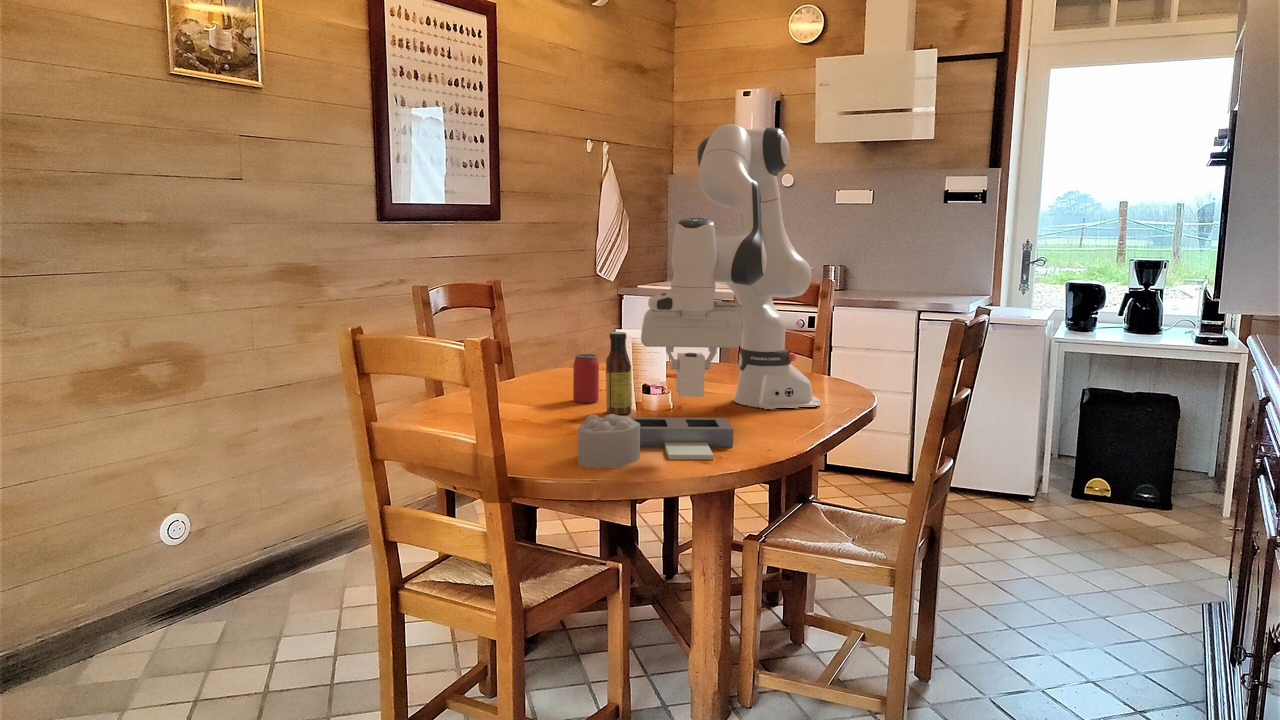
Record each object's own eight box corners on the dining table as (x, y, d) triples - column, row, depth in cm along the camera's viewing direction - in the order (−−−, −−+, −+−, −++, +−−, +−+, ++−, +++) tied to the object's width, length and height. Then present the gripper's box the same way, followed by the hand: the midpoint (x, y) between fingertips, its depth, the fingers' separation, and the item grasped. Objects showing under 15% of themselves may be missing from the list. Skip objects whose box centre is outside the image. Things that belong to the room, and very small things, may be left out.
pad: (706, 447, 180) (707, 442, 180) (713, 459, 171) (713, 454, 171) (664, 447, 180) (664, 442, 179) (668, 459, 171) (668, 454, 171)
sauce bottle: (636, 413, 210) (638, 333, 207) (619, 417, 206) (620, 335, 202) (617, 408, 214) (619, 330, 211) (600, 412, 210) (601, 332, 207)
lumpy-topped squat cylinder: (646, 458, 172) (647, 416, 170) (605, 473, 161) (606, 428, 160) (606, 449, 178) (606, 408, 176) (564, 462, 167) (564, 419, 166)
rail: (725, 435, 190) (725, 417, 190) (732, 447, 181) (733, 429, 180) (617, 435, 189) (617, 417, 188) (619, 447, 179) (619, 428, 178)
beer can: (600, 399, 225) (600, 354, 223) (596, 404, 219) (597, 358, 217) (575, 398, 226) (575, 353, 224) (571, 403, 219) (571, 357, 217)
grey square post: (700, 391, 176) (701, 351, 175) (703, 396, 171) (705, 355, 170) (676, 391, 176) (677, 351, 174) (678, 396, 171) (680, 355, 169)
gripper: (741, 299, 174) (738, 366, 176) (641, 298, 173) (639, 365, 175) (747, 303, 168) (744, 372, 170) (643, 301, 166) (641, 371, 169)
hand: (690, 369), depth 173 cm, fingers closed on grey square post, 5 cm apart
